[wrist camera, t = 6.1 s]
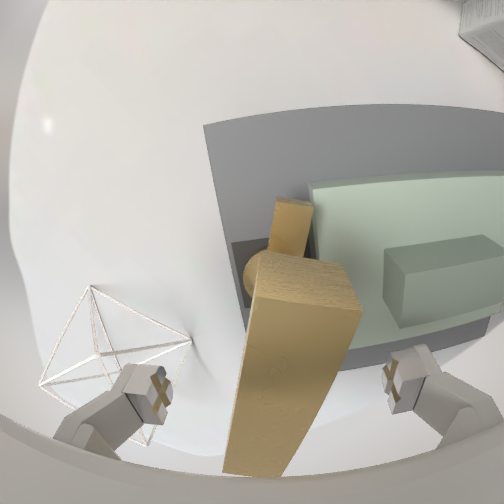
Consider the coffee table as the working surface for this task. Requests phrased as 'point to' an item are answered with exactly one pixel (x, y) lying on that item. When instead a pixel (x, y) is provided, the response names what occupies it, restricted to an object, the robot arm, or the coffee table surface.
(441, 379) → the robot arm
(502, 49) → the skincare box
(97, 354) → the geometric polyhedron
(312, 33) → the coffee table surface
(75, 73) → the coffee table surface
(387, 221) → the cover
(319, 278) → the t key
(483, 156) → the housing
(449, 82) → the coffee table surface
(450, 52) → the coffee table surface
